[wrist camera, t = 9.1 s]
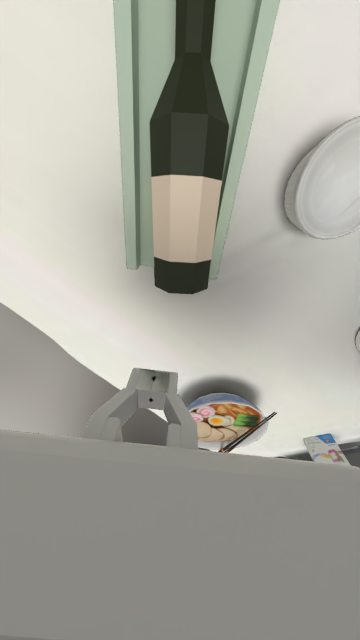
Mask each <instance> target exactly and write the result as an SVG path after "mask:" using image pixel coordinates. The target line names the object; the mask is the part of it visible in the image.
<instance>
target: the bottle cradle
mask: <svg viewBox="0 0 360 640" xmlns="http://www.w3.org/2000/svg"><path fill="white" fill-rule="evenodd" d="M279 3H280V0H216V2H215V14H214V26H213V38H212V50H211V65H212V68H213V72H214V75H215V79H216V82H217V85H218V89H219V92H220V96H221V99H222V103H223V106H224V110H225V113H226V116H227V120H228V123H229V132H228V140H227V147H226V154H225V162H224V169H223V176H222V184H221V191H220V198H219V206H218V213H217V221H216V228H215V235H214V243H213V250H212V257H211V265H210V272H209V279H216V278H217V274H218V269H219V265H220V260H221V256H222V252H223V247H224V243H225V239H226V234H227V230H228V225H229V221H230V217H231V212H232V208H233V204H234V199H235V195H236V190H237V186H238V182H239V177H240V173H241V169H242V164H243V160H244V155H245V151H246V147H247V142H248V138H249V134H250V129H251V125H252V121H253V116H254V112H255V107H256V103H257V99H258V94H259V90H260V86H261V81H262V77H263V72H264V68H265V64H266V59H267V55H268V51H269V46H270V42H271V37H272V33H273V29H274V24H275V20H276V16H277V11H278V7H279ZM113 8H114V28H115V48H116V67H117V87H118V107H119V127H120V147H121V167H122V186H123V206H124V226H125V246H126V266H127V269H133V270H137V269H138V267H139V266H140V265H145V266H154V245H153V214H152V183H151V152H150V119H151V117H152V114H153V112H154V109H155V107H156V105H157V102H158V100H159V97H160V95H161V92H162V90H163V87H164V85H165V82H166V80H167V78H168V75H169V73H170V70H171V68H172V65H173V63H174V60H175V28H176V0H113Z"/></svg>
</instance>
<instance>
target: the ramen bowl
mask: <svg viewBox="0 0 360 640" xmlns="http://www.w3.org/2000/svg"><path fill="white" fill-rule="evenodd" d="M187 409H188V411H189V412H190V414H191V416H192V418H193V419H194V421H195V423H196V424H197V433H198V447H199V448H206V449H213V450H219V449H221V450H220V451H218V452H223V453H228V452H230V451H231V450H233V449H234V448H237V447H242V446H245V445H248V444H250V443H252V442H254V441H257V440H258V439H259V438H260V437H261V436H262V435H263V434H264V433H265V432H266V430H267V426H268V420H270V419H271V418H272V417H273V416H274V415H276V414H277V413H275V412H274V413H275V414H274V413H272V414H271V415H273V414H274V415H273V416H271V415H269V416H268V417H267V418H269V417H270V416H271V417H270V418H269V419H267V418H265V416H264V414H263V413H262V412H261V411H260V410H259V409H258V408H257V407H256V406H255V405H253V404H252V403H250V402H249V401H247V400H245V399H243V398H242V397H240V396H238V395H234V394H229V393H211V394H208V395H205V396H202V397H199V398H198V399H196V400H195V401H193V402H192V403H191V404H189V405H188V406H187ZM226 449H227V450H226ZM225 450H226V451H225ZM224 451H225V452H224Z"/></svg>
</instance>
